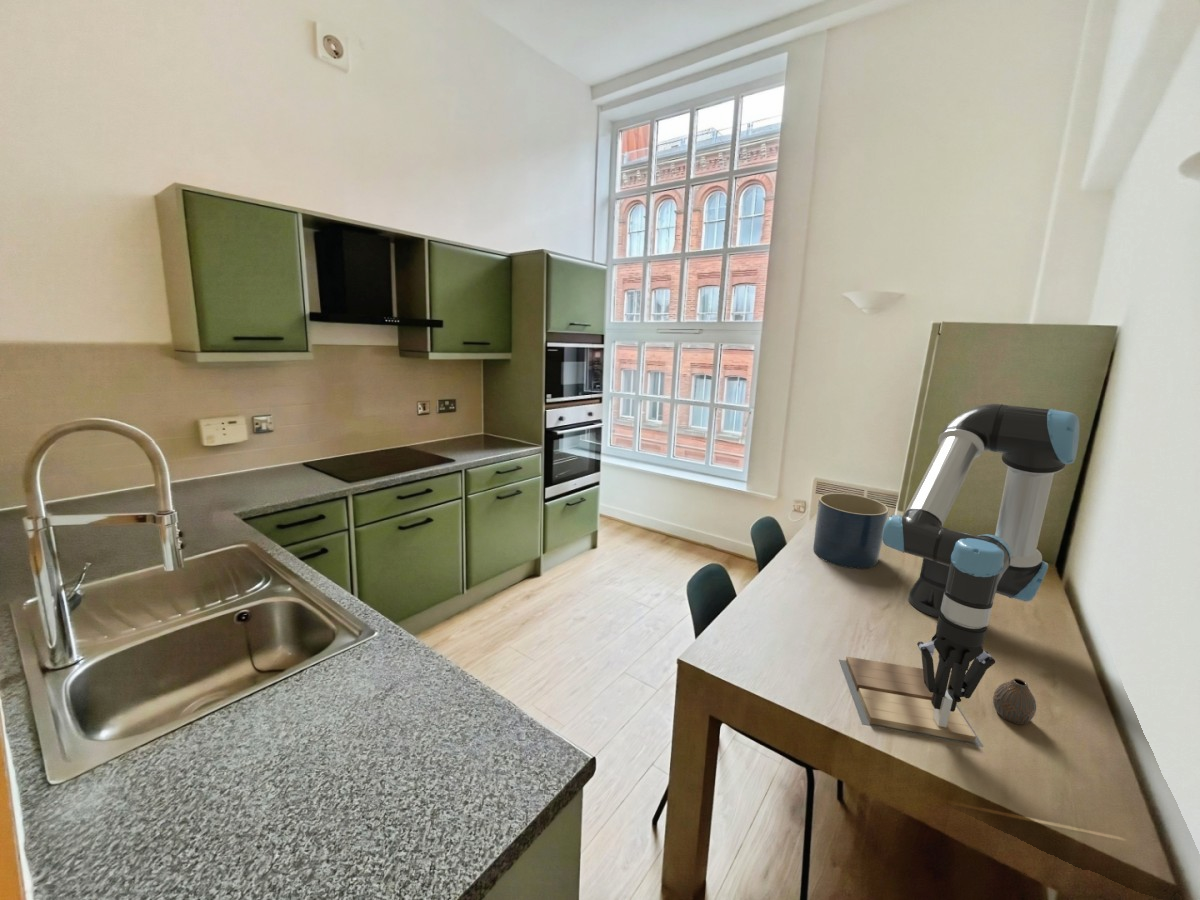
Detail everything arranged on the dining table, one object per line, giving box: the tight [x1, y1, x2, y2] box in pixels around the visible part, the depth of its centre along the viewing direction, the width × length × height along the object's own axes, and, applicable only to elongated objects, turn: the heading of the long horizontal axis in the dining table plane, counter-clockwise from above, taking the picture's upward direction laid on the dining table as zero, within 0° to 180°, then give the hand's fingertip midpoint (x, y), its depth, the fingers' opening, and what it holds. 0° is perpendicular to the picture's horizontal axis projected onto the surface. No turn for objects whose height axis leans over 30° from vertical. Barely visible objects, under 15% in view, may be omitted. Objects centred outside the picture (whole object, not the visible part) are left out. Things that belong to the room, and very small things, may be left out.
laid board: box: [845, 656, 936, 700], centre depth 113 cm, size 19×10×2 cm, turn 77°
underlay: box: [838, 659, 984, 748], centre depth 109 cm, size 22×21×1 cm
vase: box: [992, 677, 1037, 725], centre depth 104 cm, size 7×7×9 cm
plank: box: [858, 688, 976, 743], centre depth 103 cm, size 19×9×2 cm, turn 77°
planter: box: [813, 492, 889, 570], centre depth 177 cm, size 22×22×20 cm
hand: (939, 721), depth 100 cm, fingers closed
